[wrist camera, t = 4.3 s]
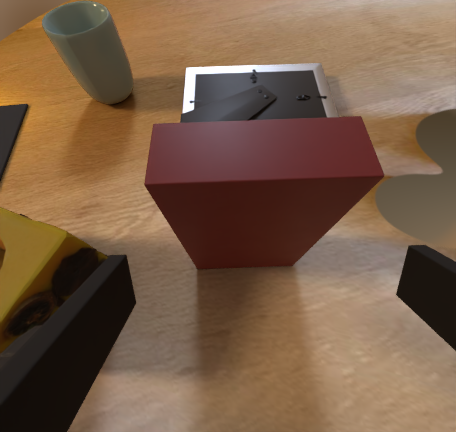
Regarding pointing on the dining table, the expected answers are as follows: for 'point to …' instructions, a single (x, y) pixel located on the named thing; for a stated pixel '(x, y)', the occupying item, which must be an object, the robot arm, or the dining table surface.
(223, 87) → the picture frame
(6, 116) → the mat
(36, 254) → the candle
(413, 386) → the dining table surface
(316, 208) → the book
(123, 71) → the cup
